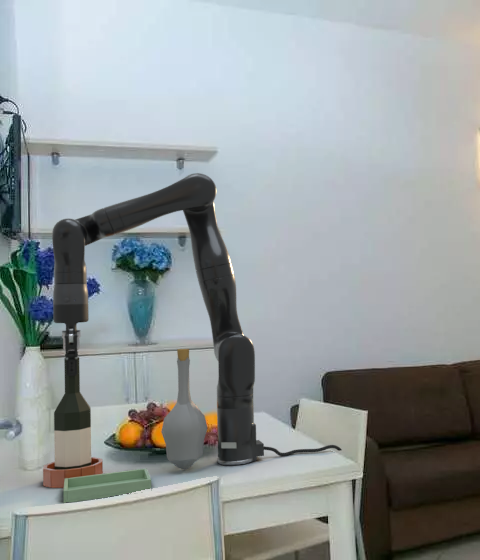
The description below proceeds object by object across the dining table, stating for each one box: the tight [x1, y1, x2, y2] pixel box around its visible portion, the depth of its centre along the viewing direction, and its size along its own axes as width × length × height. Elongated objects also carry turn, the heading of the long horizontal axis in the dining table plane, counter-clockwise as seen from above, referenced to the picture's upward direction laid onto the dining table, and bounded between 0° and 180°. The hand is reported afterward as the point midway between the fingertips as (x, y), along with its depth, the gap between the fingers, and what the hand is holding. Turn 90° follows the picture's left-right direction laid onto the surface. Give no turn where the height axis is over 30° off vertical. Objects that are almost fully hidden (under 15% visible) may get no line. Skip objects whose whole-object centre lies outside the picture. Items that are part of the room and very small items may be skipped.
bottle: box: [160, 348, 208, 471], centre depth 169 cm, size 11×11×30 cm
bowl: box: [42, 456, 104, 489], centre depth 162 cm, size 13×13×4 cm
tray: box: [62, 467, 152, 504], centre depth 152 cm, size 17×11×3 cm, turn 116°
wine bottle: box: [53, 356, 92, 470], centre depth 162 cm, size 8×8×30 cm
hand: (72, 374), depth 162 cm, fingers closed on wine bottle, 3 cm apart
